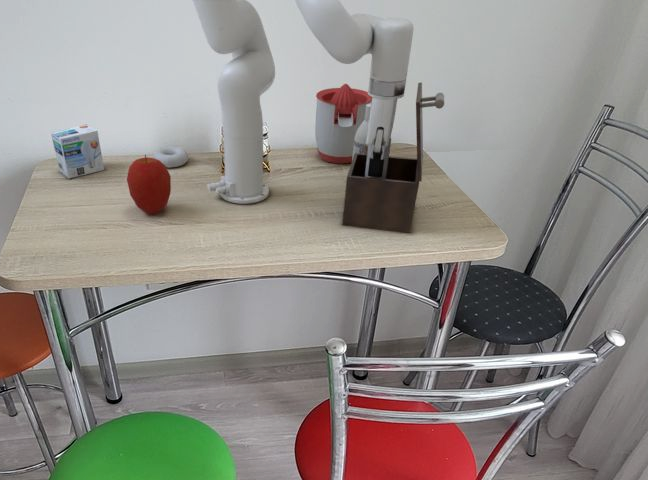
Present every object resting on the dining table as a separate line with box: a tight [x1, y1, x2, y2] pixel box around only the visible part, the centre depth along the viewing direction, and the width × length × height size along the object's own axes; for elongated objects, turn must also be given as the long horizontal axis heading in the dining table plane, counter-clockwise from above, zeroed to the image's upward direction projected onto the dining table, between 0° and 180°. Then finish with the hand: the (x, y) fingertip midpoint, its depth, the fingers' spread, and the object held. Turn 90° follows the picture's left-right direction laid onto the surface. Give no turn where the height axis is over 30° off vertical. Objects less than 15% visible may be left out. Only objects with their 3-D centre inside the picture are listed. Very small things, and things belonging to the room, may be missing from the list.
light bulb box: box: [50, 124, 105, 180], centre depth 152 cm, size 11×7×11 cm, turn 129°
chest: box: [341, 153, 420, 234], centre depth 132 cm, size 16×15×12 cm
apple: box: [126, 153, 172, 215], centre depth 132 cm, size 10×10×14 cm
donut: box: [152, 145, 189, 169], centre depth 159 cm, size 10×4×10 cm
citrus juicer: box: [314, 83, 372, 164], centre depth 157 cm, size 16×17×20 cm
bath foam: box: [352, 104, 371, 160], centre depth 143 cm, size 7×7×20 cm
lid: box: [415, 82, 445, 183], centre depth 121 cm, size 16×15×5 cm
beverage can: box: [365, 132, 392, 179], centre depth 128 cm, size 5×5×12 cm
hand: (376, 170), depth 129 cm, fingers closed on beverage can, 4 cm apart
